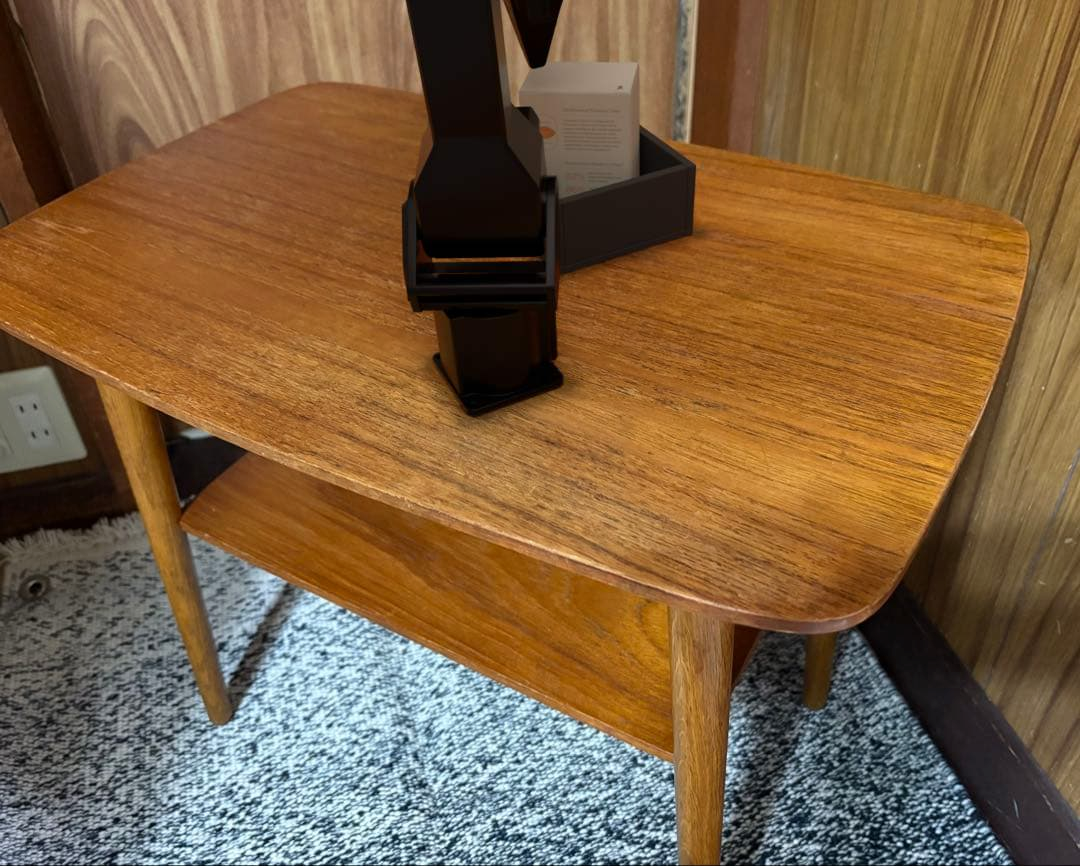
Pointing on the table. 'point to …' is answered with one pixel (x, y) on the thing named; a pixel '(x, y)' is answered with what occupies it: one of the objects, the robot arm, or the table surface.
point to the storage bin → (629, 209)
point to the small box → (586, 121)
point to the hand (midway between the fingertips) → (509, 46)
